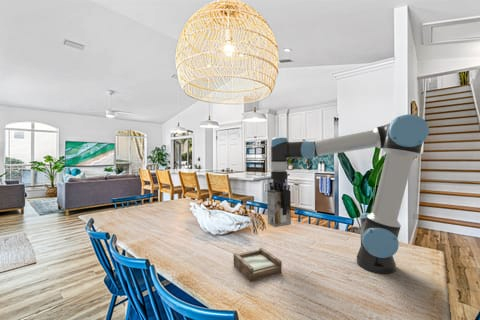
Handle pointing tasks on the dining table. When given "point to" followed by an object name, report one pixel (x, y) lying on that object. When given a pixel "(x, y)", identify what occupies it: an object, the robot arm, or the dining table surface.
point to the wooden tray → (257, 264)
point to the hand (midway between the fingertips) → (279, 219)
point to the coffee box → (277, 209)
